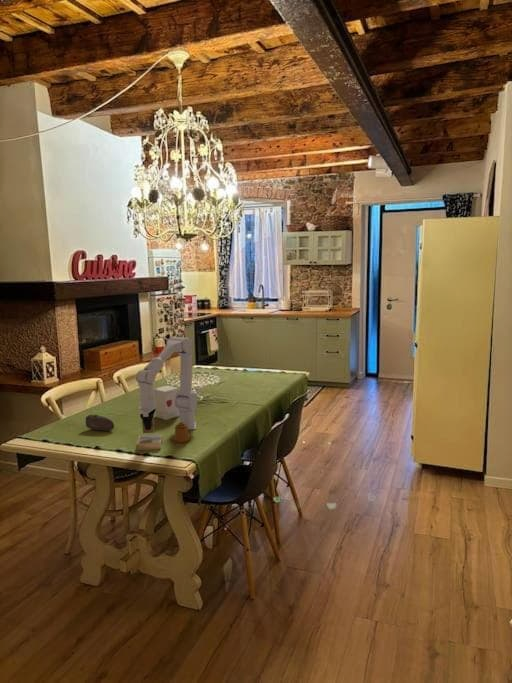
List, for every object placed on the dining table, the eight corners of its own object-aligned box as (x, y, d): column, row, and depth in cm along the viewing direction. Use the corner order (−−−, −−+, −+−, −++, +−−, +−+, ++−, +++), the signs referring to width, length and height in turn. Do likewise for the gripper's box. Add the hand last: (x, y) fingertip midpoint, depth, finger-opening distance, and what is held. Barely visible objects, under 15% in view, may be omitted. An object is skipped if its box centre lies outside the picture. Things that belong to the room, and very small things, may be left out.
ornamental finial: (191, 442, 214) (174, 444, 212) (189, 436, 221) (173, 438, 219) (190, 425, 213) (173, 426, 211) (189, 419, 220) (172, 421, 218)
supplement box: (165, 420, 244) (164, 391, 241) (155, 417, 250) (153, 388, 247) (180, 416, 250) (178, 387, 248) (169, 412, 256) (167, 385, 254)
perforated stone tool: (117, 429, 232) (116, 415, 231) (110, 433, 227) (109, 419, 226) (92, 426, 238) (91, 412, 237) (85, 430, 233) (83, 416, 232)
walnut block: (144, 429, 213) (143, 416, 211) (154, 429, 213) (153, 415, 212) (143, 433, 208) (142, 419, 207) (153, 432, 209) (152, 419, 208)
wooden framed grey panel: (140, 441, 216) (139, 434, 216) (163, 440, 217) (162, 433, 216) (136, 450, 206) (136, 443, 206) (160, 449, 207) (160, 442, 207)
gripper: (140, 393, 215) (142, 422, 217) (134, 402, 201) (137, 434, 203) (156, 392, 215) (158, 421, 218) (152, 401, 201) (154, 433, 203)
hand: (149, 427), depth 210 cm, fingers closed on walnut block, 4 cm apart
